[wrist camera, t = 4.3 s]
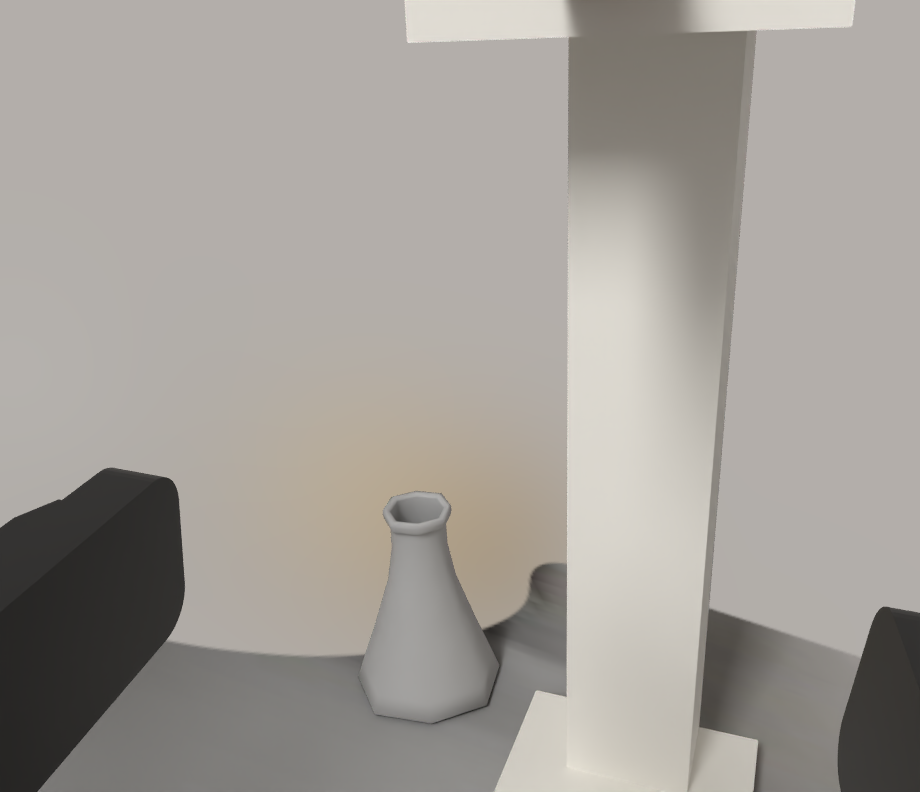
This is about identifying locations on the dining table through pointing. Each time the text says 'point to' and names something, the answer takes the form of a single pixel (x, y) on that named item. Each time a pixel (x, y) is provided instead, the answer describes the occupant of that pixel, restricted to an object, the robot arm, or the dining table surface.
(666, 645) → the white pedestal stand
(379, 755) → the dining table surface
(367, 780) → the dining table surface
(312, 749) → the dining table surface
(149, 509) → the robot arm
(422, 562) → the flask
